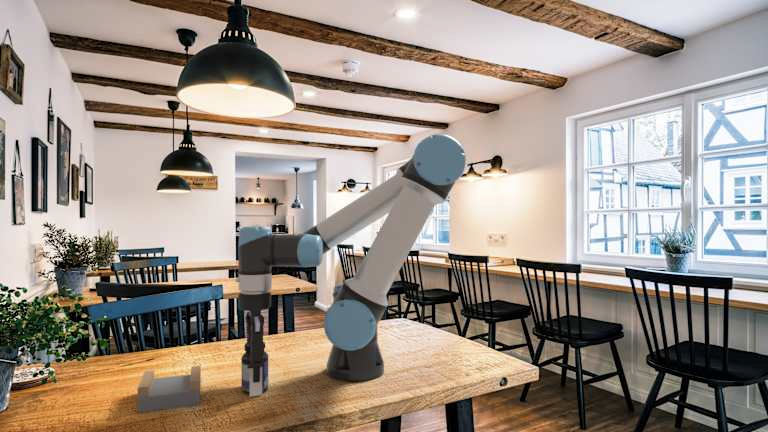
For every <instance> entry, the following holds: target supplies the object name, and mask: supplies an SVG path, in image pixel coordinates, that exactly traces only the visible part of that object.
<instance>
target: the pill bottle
mask: <svg viewBox="0 0 768 432" xmlns="http://www.w3.org/2000/svg"><path fill="white" fill-rule="evenodd" d="M265 349H266V342H265V341H263V362H264V365H263V367H262V394H263V393H264V392H266V391H267V390H268V389H269V354H268V353H267V352H266V351H265ZM244 351H245V353H244V354H242V356H241V392H242V393H243V394H245V395H250V368H249V369H247V366H249V365H250V364H251V355H250V342H248V343H247V342H246V343H245V344H244ZM256 362H257V361H256Z"/></svg>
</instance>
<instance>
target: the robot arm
mask: <svg viewBox="0 0 768 432" xmlns="http://www.w3.org/2000/svg"><path fill="white" fill-rule="evenodd" d="M413 152H414V153H413V155H412V157H411V158H410V159H409V160H408V161H407V162H406V163H404V164H403V165H401V166H400V167H397V169H396V174H395V175H392V176H391V177H389V178H388V179H386V180H385V181H383V182H381V183H380V184H378V185H377V186H375V187H374V188H373V189H371V190H369V191H367V192H366V193H365V194H363V195H361V196H360V197H358V198H357V199H354V200H353V201H351V202H350V203H348V204H347V205H345V206H344V207H341V208H340V209H339V210H337V211H336V212H334V213H333V214H331V215H330V216H328V217H326V218H324V219H323V220H322V221H320V222H319V223H317V224H316V225H314V226H311V228H309V229H308V230H306V231H304V232H303V233H298V234H273V232H272V231H273V230H272V227H271V226H261V225H260V226H255V225H253V226H252V225H251V226H250V225H249V226H248V225H247V226H243V227H241V228H240V229H239V232H238V233H239V234H238V245H237V249H238V251H237V255H238V256H237V257H238V272H237V273H238V277H237V278H235V282H236V283H238V291H239V293H238V295H237V308H238V309H239V310H241V311H243V312H244V311H245V312H246V315H245V318H244V319H245V323H246V324H245V330H246V331H245V332H246V343H248V342H250V355H251V364H250V365H249V366H247V369H249V368H250V394H249V397H250V398H251V397H259V396H263V393H262V367H263V365H264V362H263V342H264V326H265V317H264V315H263V314H262V311H263V310H268V309H270V308H271V307H272V293H271V290H272V287H273V285H272V278H273V276H272V274H273V273H272V267H291V268H292V267H295V268H297V267H301V268H310V267H319V266H321V264H322V262H323V258H324V256H323V255H324V254H326V253H327V252H329V251H330V250H332V249H333V248H335V247H336V246H338V245H340V244H341V243H343V242H345V241H346V240H348V239H349V238H351V237H353V236H354V235H356V234H358V233H359V232H360V231H362V230H363V229H365V228H367V227H368V226H370V225H372V224H373V223H375V222H376V221H378V220H380V219H381V218H382V217H385V216H386V215H387V216H386V218H385V220H384V222H383V224H382V226H381V227H380V229H379V231H378V233H377V234H376V236H375V238H374V240H373V242H372V243H371V246H370V248H369V249H368V251H367V253H366V255H365V256H364V258H363V260H362V262H361V264H360V265H359V267H358V269H357V271H356V273H355V275H354V276H353V277H351V278H348V279H345V280H344V281H343V283H342V284H336V285H335V286H334V287H333V292H332V298H333V301H332V302H331V305H330V306H329V307H328V309H327V310H326V312H325V314H324V319H323V329H324V334H325V335H326V337H327V340H328V341H330V343H331V344H332V346H331V350H330V353H329V356H328V359H327V363H326V375H328V377H331V378H332V379H334V380H339V381H346V382H361V381H369V380H373V379H376V378H378V377H381V376H382V375H383V374H384V373H385V362H384V358H383V355H382V352H381V350H380V346H379V342H378V325H379V323H380V321H381V319H382V317H383V315H384V314H385V311H386V310H387V307H388V306H389V302H388V298H387V297H388V296H387V294H388V292H389V291H390V289H391V287H392V285H393V283H394V281H395V279H396V277H397V276H398V274H399V272H400V270H401V268H402V267H403V265H404V263H405V261H406V259H407V258H408V256H409V253H410V251H411V250H412V248H413V246H414V245H415V242H416V241H417V239H418V238H419V235H420V233H421V232H422V230H423V229H424V227H425V225H426V222H427V221H428V220H429V217H430V215H431V214H432V211H433V209H434V208H435V206H437V205H440V204H442V203H445V201H446V199H447V198H448V196H449V194H450V192H451V190H452V189H453V187H454V185H455V183H456V181H457V180H459V178H460V177H462V175H463V173H464V171H465V168H466V162H467V160H466V153H465V149H464V148H463V146H462V145H461V143H460V142H459V141H458V140H456V138H454V137H453V136H450V135H448V134H444V133H436V134H430V135H429V136H427V137H425V138H423V139H422V140H421V141H420V142H419V143H418V144H417V146H416V147H415V149H414V151H413ZM256 361H257V362H256Z"/></svg>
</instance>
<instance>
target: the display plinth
mask: <svg viewBox="0 0 768 432" xmlns="http://www.w3.org/2000/svg"><path fill="white" fill-rule="evenodd" d="M201 369H202V367H201V365H192V366H191V368H190V374H184V375H175V376H174V375H172V376H164V377H156V378H155V370H149V371H144V372H143V375H142V377H141V379H140V381H139V385H138V386H137V398H136V400H137V402H136V403H137V405H136V406H137V407H136V410H137V411H136V413H138V414H140V413H145V412H152V411H161V410H167V409H175V408H182V407H190V406H196V405H200V404H201V402H200V401H201V383H202V382H201V381H202V379H201V377H202V376H201Z"/></svg>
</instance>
